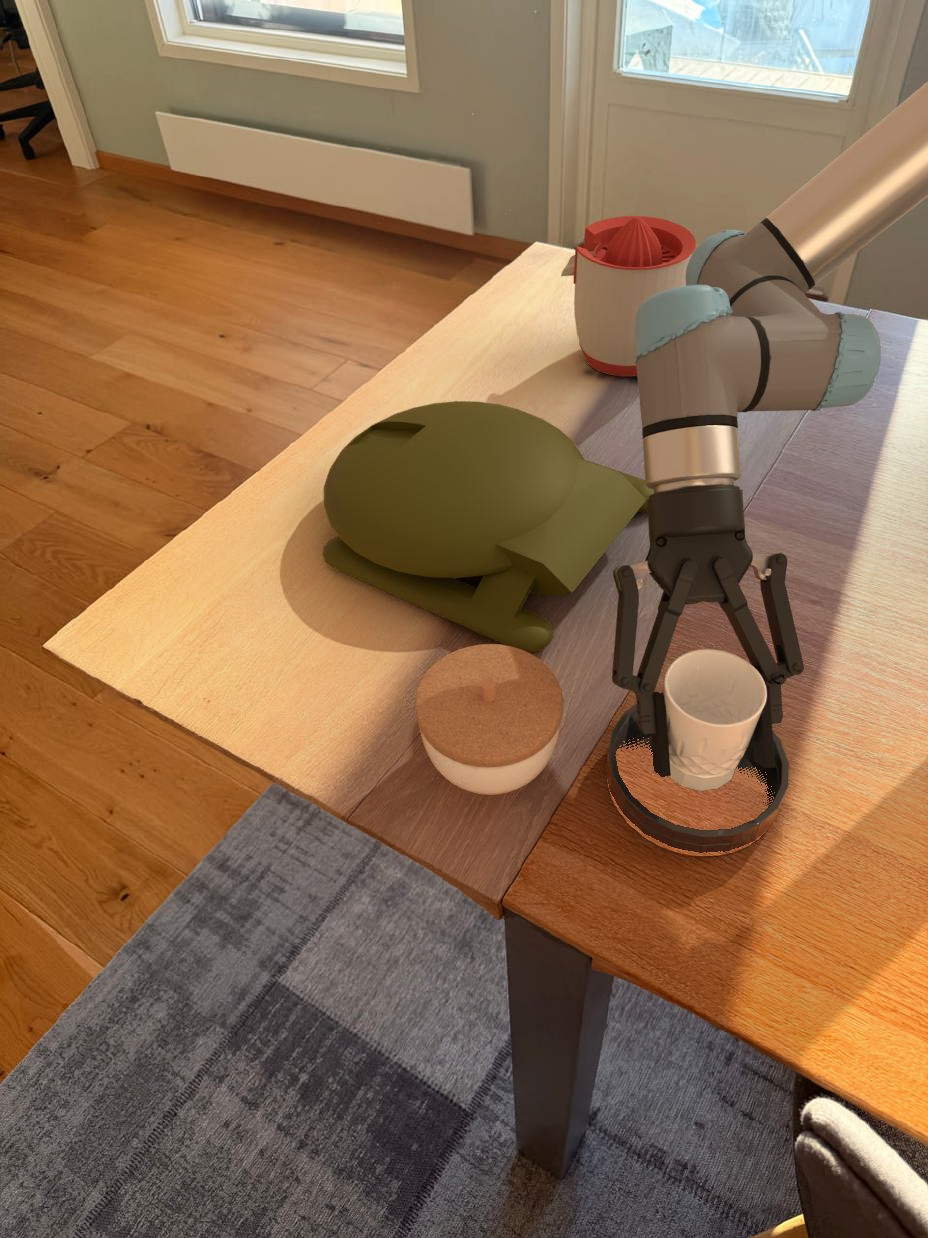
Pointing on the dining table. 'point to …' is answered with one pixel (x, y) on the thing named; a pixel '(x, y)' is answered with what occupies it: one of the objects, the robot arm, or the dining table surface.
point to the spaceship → (474, 514)
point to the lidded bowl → (489, 717)
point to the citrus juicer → (623, 283)
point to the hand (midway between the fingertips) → (713, 768)
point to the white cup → (710, 715)
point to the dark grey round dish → (685, 835)
